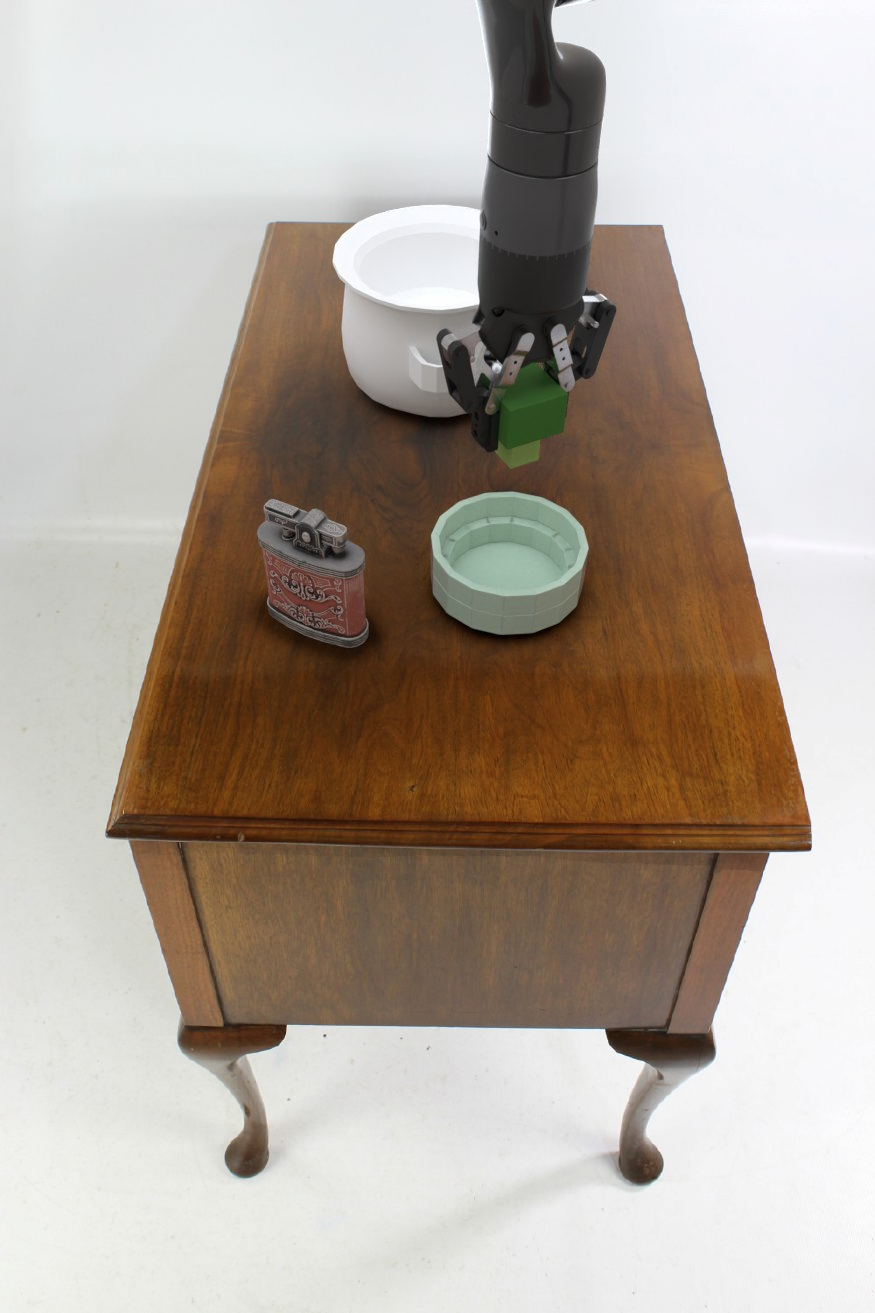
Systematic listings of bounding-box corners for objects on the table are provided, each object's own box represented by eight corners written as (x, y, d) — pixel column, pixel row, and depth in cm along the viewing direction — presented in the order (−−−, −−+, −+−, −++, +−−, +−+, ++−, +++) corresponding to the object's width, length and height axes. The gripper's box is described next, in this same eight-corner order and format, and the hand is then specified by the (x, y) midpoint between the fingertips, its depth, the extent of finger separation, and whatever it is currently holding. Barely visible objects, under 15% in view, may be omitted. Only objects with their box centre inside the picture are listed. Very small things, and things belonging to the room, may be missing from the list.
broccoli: (527, 430, 87) (533, 359, 82) (559, 464, 84) (568, 393, 79) (473, 446, 85) (476, 376, 80) (504, 482, 82) (510, 410, 77)
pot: (347, 315, 106) (340, 193, 97) (520, 317, 106) (530, 195, 97) (334, 449, 91) (325, 320, 82) (536, 451, 91) (549, 322, 82)
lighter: (377, 625, 77) (373, 518, 70) (353, 655, 75) (346, 549, 68) (284, 587, 80) (271, 481, 72) (258, 616, 78) (242, 509, 70)
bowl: (531, 520, 85) (536, 475, 82) (609, 609, 79) (618, 564, 75) (405, 563, 82) (405, 518, 78) (476, 660, 75) (479, 615, 72)
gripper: (468, 272, 66) (460, 489, 79) (658, 225, 71) (622, 437, 83) (414, 222, 70) (414, 435, 83) (596, 180, 75) (570, 388, 88)
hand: (518, 435), depth 83 cm, fingers closed on broccoli, 5 cm apart
